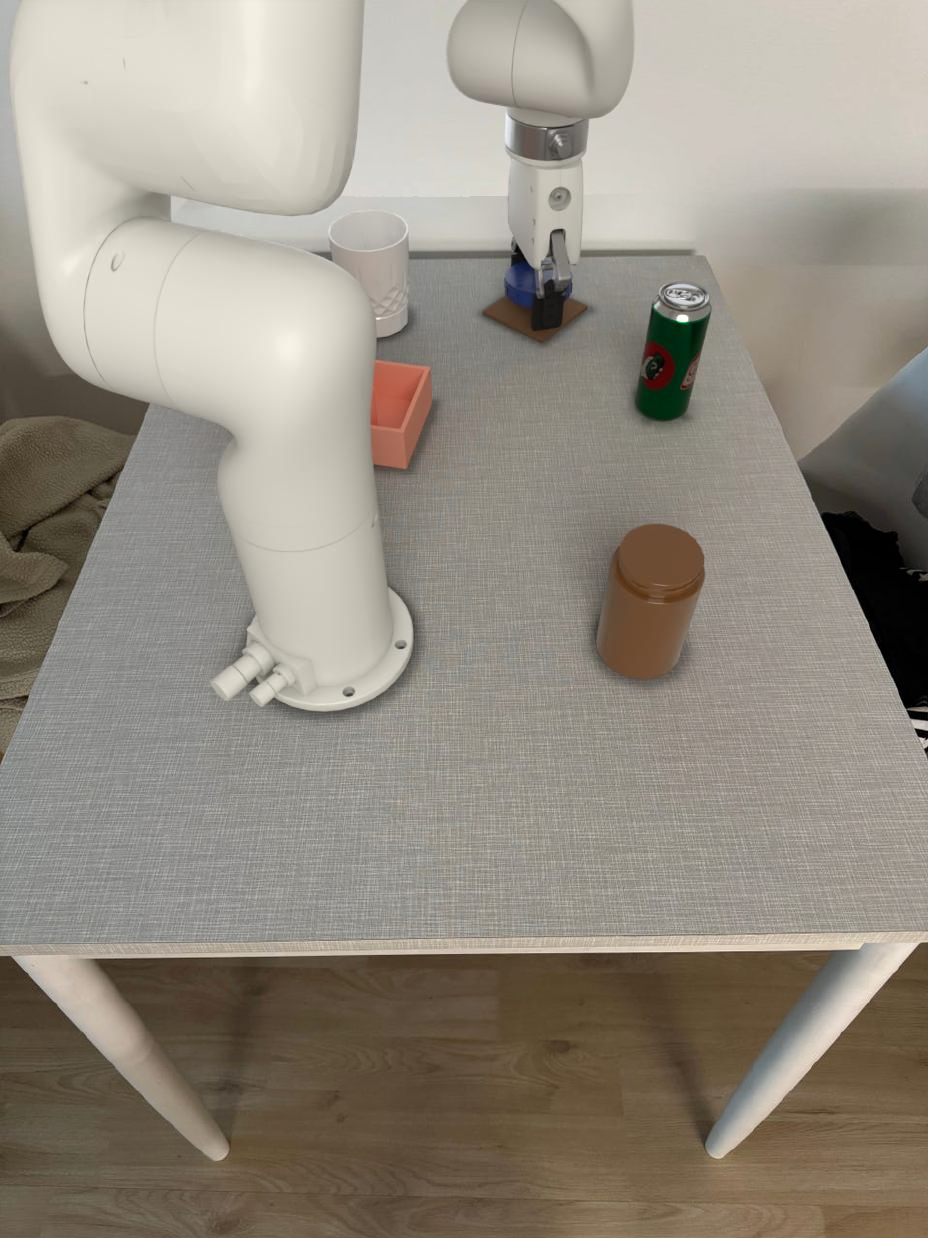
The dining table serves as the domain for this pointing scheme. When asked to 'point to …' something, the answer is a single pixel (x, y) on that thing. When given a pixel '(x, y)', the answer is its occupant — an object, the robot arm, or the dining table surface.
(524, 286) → the lid
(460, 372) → the dining table surface
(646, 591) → the jar
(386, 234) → the white cup
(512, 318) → the pad
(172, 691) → the dining table surface
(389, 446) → the salmon pink open box
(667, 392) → the soda can
